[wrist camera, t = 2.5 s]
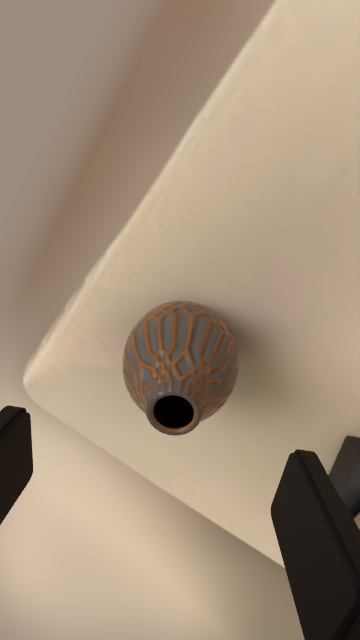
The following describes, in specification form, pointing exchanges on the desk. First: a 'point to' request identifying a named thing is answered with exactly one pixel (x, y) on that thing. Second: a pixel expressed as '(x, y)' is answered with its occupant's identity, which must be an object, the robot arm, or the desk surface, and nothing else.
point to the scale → (348, 474)
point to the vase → (180, 365)
